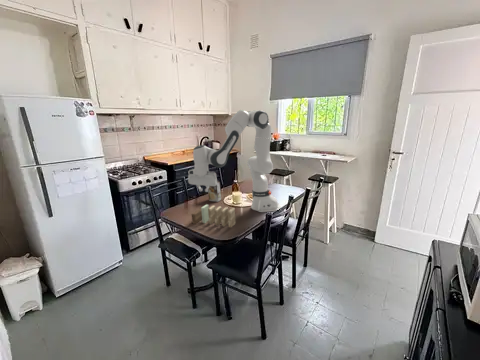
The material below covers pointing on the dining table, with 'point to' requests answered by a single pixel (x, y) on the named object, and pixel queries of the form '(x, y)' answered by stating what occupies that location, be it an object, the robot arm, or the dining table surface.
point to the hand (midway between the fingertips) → (203, 191)
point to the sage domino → (205, 213)
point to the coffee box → (214, 193)
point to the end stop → (197, 216)
